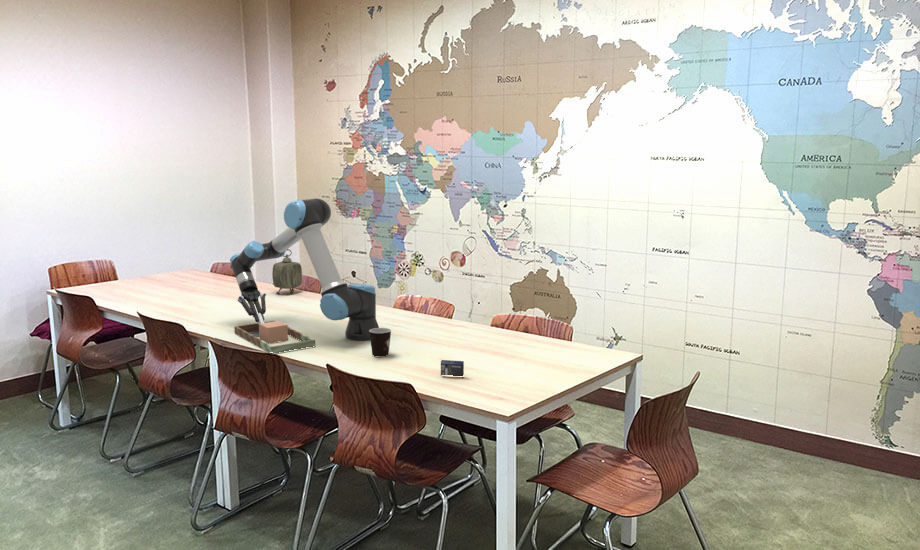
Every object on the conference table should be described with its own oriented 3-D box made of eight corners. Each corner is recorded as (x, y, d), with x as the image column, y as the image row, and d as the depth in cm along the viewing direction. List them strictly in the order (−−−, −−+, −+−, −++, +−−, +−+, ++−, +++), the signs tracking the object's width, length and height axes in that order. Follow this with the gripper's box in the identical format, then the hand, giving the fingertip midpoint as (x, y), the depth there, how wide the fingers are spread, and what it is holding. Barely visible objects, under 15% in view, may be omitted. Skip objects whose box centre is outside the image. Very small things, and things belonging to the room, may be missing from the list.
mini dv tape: (440, 377, 278) (440, 361, 277) (441, 375, 279) (441, 359, 278) (463, 378, 276) (463, 362, 275) (463, 377, 278) (463, 361, 277)
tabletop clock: (293, 290, 434) (291, 247, 430) (304, 292, 429) (302, 248, 425) (273, 294, 423) (271, 250, 418) (284, 296, 417) (282, 251, 413)
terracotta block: (288, 340, 328) (287, 324, 326) (268, 344, 322) (267, 327, 321) (279, 336, 335) (278, 320, 333) (259, 339, 329) (258, 323, 328)
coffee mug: (382, 350, 312) (381, 326, 310) (395, 354, 306) (395, 330, 304) (359, 356, 304) (358, 331, 302) (372, 360, 298) (372, 335, 296)
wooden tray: (315, 346, 317) (315, 339, 317) (272, 354, 306) (271, 347, 306) (275, 327, 351) (275, 320, 350) (234, 333, 339) (234, 326, 339)
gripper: (258, 287, 354) (274, 329, 344) (231, 290, 346) (246, 333, 336) (262, 277, 349) (278, 320, 339) (234, 280, 341) (250, 324, 331)
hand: (262, 326), depth 337 cm, fingers closed
